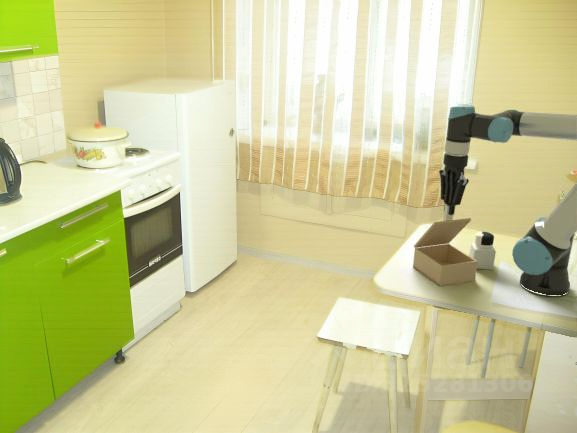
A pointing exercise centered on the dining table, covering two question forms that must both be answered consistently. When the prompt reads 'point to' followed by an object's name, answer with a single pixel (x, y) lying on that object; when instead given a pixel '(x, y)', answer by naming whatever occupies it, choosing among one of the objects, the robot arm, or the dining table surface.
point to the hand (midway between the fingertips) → (447, 222)
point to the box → (445, 264)
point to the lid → (442, 232)
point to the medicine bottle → (483, 250)
